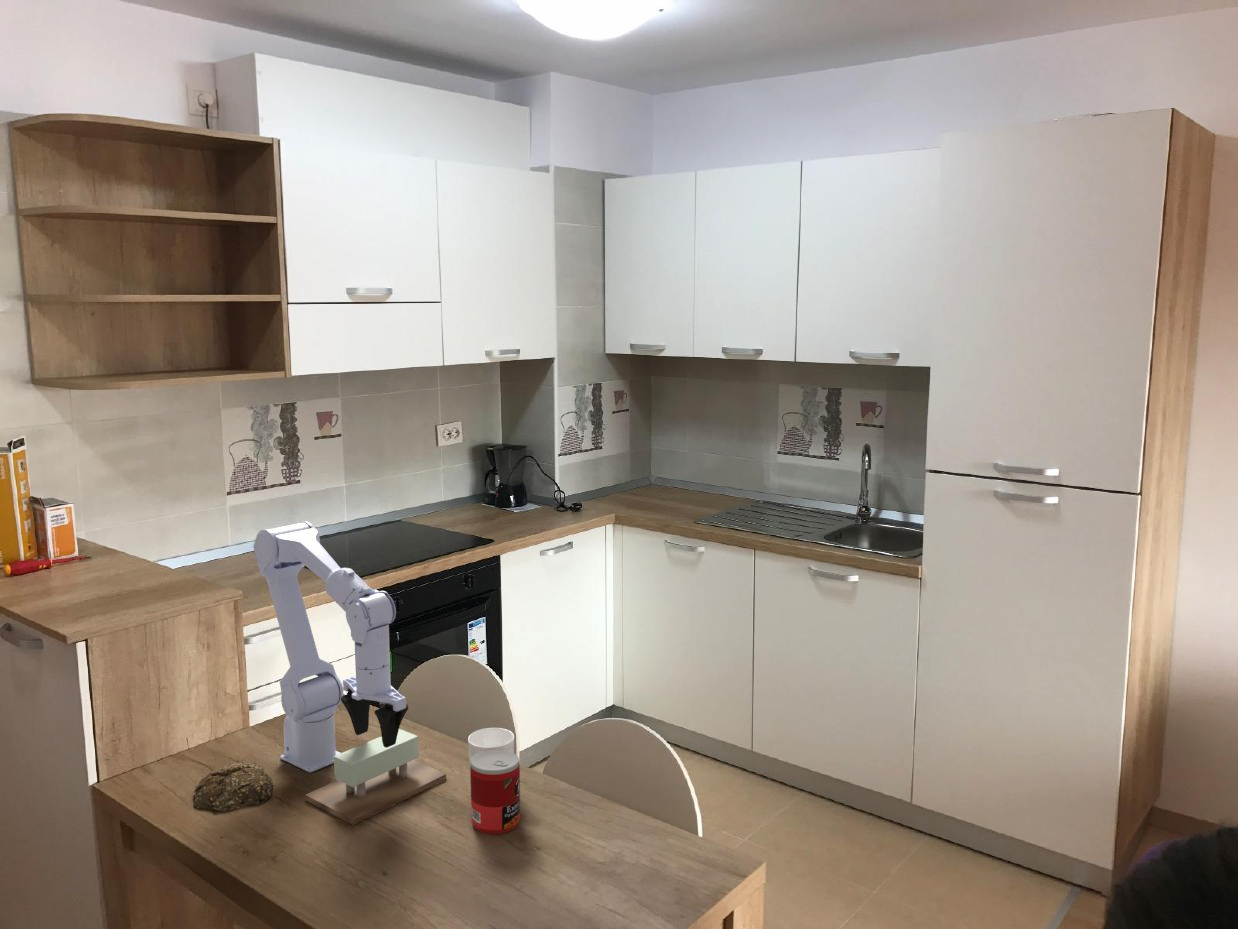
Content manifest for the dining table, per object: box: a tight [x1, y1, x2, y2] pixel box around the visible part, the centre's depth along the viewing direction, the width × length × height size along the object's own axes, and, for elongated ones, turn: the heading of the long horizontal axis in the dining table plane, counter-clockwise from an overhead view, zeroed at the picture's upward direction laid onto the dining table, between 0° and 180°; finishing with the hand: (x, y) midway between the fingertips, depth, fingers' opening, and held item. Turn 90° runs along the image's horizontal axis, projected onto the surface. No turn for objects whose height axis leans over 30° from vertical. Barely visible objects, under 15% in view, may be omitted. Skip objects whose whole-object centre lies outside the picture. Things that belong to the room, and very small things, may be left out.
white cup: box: [467, 727, 515, 764], centre depth 170 cm, size 8×8×10 cm
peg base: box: [304, 759, 447, 826], centre depth 171 cm, size 13×20×4 cm, turn 142°
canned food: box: [469, 750, 521, 835], centre depth 160 cm, size 8×8×11 cm
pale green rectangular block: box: [333, 728, 420, 787], centre depth 170 cm, size 14×5×4 cm, turn 142°
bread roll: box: [193, 762, 274, 812], centre depth 169 cm, size 13×12×5 cm
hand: (375, 739), depth 170 cm, fingers open, 7 cm apart
